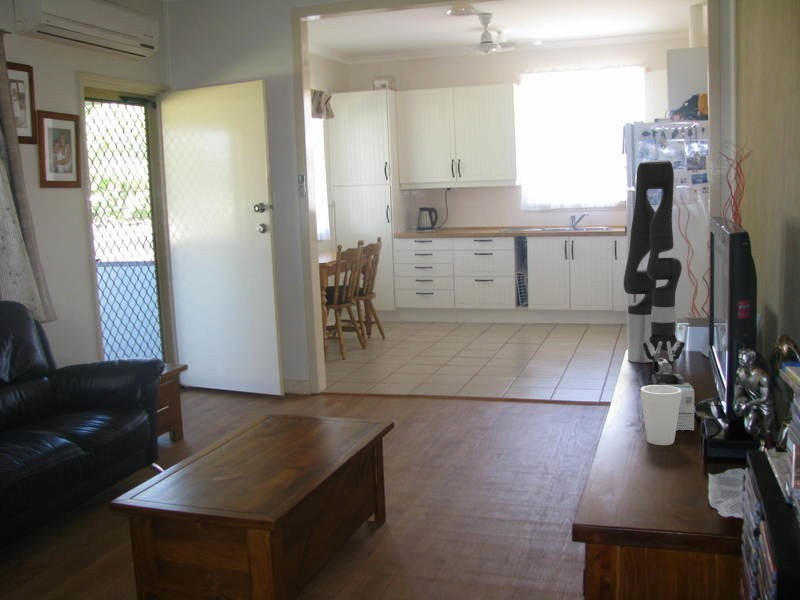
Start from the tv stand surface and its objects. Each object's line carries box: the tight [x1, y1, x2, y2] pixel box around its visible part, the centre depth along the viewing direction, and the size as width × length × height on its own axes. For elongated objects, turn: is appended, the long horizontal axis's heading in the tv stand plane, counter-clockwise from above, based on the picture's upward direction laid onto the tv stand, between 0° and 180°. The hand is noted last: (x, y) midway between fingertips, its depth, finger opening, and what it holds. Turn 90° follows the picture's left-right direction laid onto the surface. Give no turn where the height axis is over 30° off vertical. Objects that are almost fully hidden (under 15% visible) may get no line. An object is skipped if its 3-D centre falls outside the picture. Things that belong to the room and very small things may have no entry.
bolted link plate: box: [656, 357, 673, 374], centre depth 267 cm, size 10×3×4 cm, turn 174°
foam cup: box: [640, 384, 682, 446], centre depth 201 cm, size 10×9×13 cm
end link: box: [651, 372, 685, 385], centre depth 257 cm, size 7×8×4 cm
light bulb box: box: [647, 384, 695, 432], centre depth 212 cm, size 11×7×11 cm, turn 84°
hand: (662, 371), depth 267 cm, fingers closed on bolted link plate, 3 cm apart
